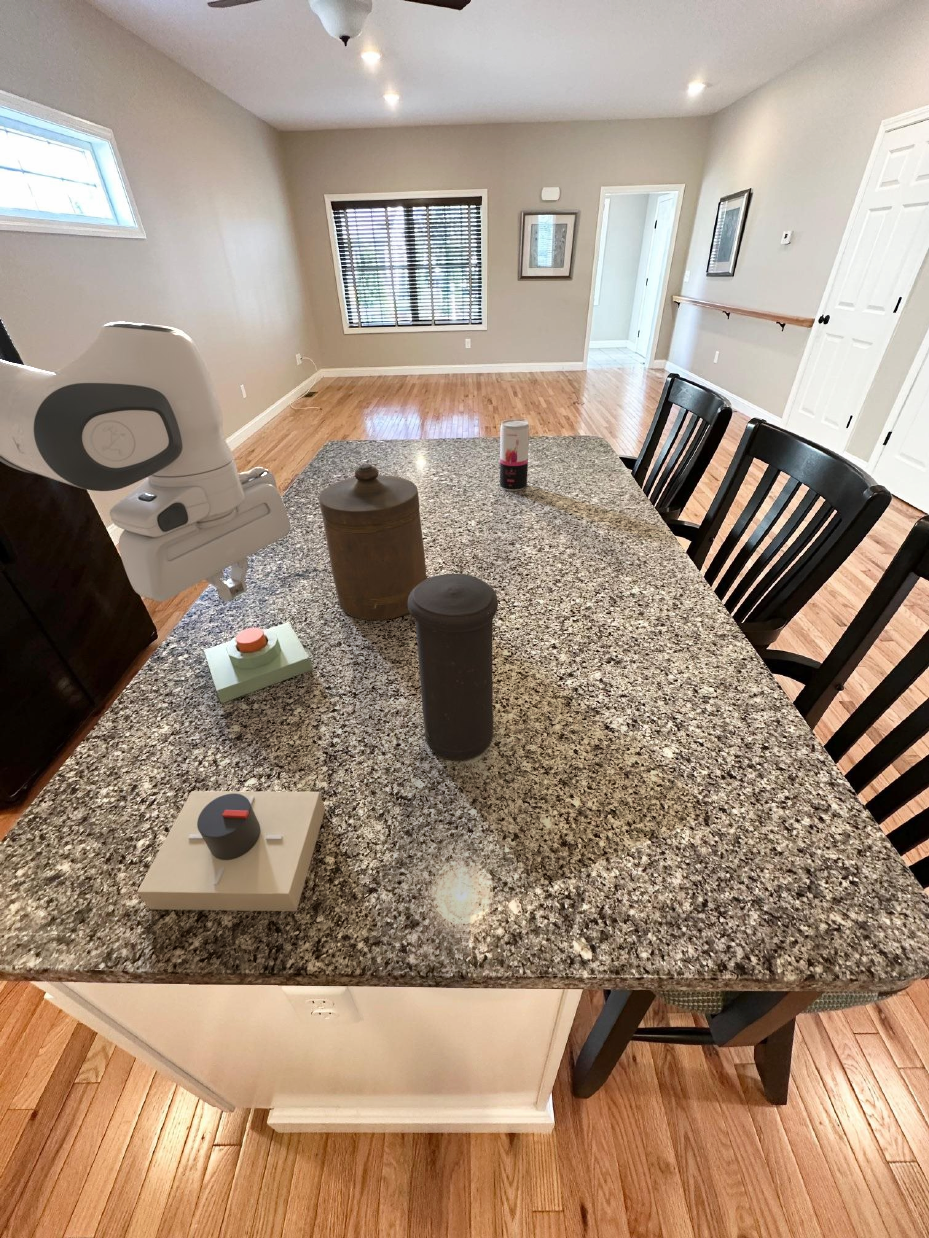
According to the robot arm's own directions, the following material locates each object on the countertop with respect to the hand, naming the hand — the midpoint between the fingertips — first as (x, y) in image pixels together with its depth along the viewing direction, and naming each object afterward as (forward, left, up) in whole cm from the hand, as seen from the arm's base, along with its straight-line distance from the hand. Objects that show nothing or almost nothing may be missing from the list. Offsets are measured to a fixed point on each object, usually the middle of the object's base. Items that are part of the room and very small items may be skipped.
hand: (234, 595), depth 65 cm
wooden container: (+22, +7, -12) cm, 26 cm away
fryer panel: (-8, -28, -12) cm, 31 cm away
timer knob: (-8, -28, -9) cm, 30 cm away
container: (+17, -26, -12) cm, 33 cm away
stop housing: (0, 0, -12) cm, 12 cm away
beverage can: (+69, +35, -12) cm, 79 cm away
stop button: (0, 0, -8) cm, 8 cm away
